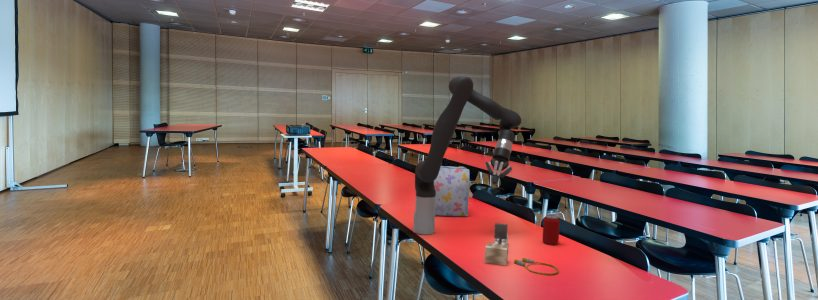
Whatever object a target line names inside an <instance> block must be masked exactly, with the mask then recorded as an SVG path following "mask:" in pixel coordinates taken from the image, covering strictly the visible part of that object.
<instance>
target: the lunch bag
mask: <svg viewBox="0 0 818 300" xmlns="http://www.w3.org/2000/svg"><path fill="white" fill-rule="evenodd" d="M434 187H435V190H436V201H435V216H438V217H439V216H446V217H468V216H469V196H470V169H468V168H466V167H465V166H450V165H449V166H448V165H447V166H444V165H441V167H440V171H439V174H438V177H437V178H436V179H435V180H434Z"/></svg>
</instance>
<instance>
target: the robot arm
mask: <svg viewBox="0 0 818 300" xmlns="http://www.w3.org/2000/svg"><path fill="white" fill-rule="evenodd" d="M448 90H449V93H451V94H452V95H451V98H450V101H449V103H448V104H447V106H446V107H445V109H444V110H443V111H442V112H441V114H440V115H439V117H438V119H437V120H436V123H435V125H434V128H433V131H432V134H431V139H430V147H429V151H428V152H427V156H426V158H425V160H422V161H420V162H418V163H417V165H416V166H415V170H414V190H415V206H414V207H415V211H414V212H413V228H412V229H413V231H412V232H413V233H415V234H417V235H422V236H423V235H425V236H426V235H427V236H428V235H433V234H435V225H436V223H435V221H436V215H435V201H436V190H435V187H434V180H435V179H436V178H437V177H438V174H439V171H440V167H441V166H442V163H443V159H444V157H445V154H446V152H447V150H448V147H449V145H450V143H451V140H452V138H453V136H454V133H455V131H456V129H457V127H458V123H459V121H460V118H461V115H462V114H463V111H464V108H465V106H466V104H467V103H469V104H472V105H473V106H475V107H476V108H478V109H479V110H480V111H482V112H483V113H485V114H486V115H487V116H489V117H490V118H492V119H494V120H496V121H499V127H498V129H499V130H498V131H499V135H498V138H497V142H496V144H495V147H494V150H493V155H492V158H491V160H490V161H485V163H484V164H485V167H486V170H487V172H488V173H489V175H490V176H492V177H491V183H492V185H497V184H498V183H499V180H500V178H504V177H506V176H507V175H508V174H510V173H512V172H513V167H512V166H510V163H509V161H510V157H511V153H512V150H513V143H514V139H515V133H514V131H512V129H515V128H517V127H519V126H520V125H521V124H522V117H521V115H520V114H518V113H517V112H516V111H514V110H512V109H509V108H506V107H504V106H502V105H500V104H499V103H498V102H496V101H495V100H494V99H492V98H489V97H488V96H486V95H483V94H481V93H479V92H478V91H477V90H475V89H474V82H473V80H472V78H471V77H469V76H466V75H465V76H462V75H461V76H456V77H453V78H452V79H450V81H449V82H448ZM491 166H492V168H491Z"/></svg>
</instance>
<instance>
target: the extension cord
mask: <svg viewBox="0 0 818 300" xmlns="http://www.w3.org/2000/svg"><path fill="white" fill-rule="evenodd" d="M513 263H514V264H515V265H518V266H522V267H524V270H528V272H530V273H533V274H538V275H542V276H555V275H558V274H559V268H558V267H557V266H555V265H553V264H550V263H546V262H539V261H535V260H534V259H532V258H531V259H530V258H525V257H522V259H521V260H519V259H514V261H513ZM526 264H527V265H526ZM537 264H540V265H543V266H544V265H545V266H549V267H552V269H554V270H555V272H553V273H546V272H538V271H535V270H531V269H529V266H533V265H537Z"/></svg>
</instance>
